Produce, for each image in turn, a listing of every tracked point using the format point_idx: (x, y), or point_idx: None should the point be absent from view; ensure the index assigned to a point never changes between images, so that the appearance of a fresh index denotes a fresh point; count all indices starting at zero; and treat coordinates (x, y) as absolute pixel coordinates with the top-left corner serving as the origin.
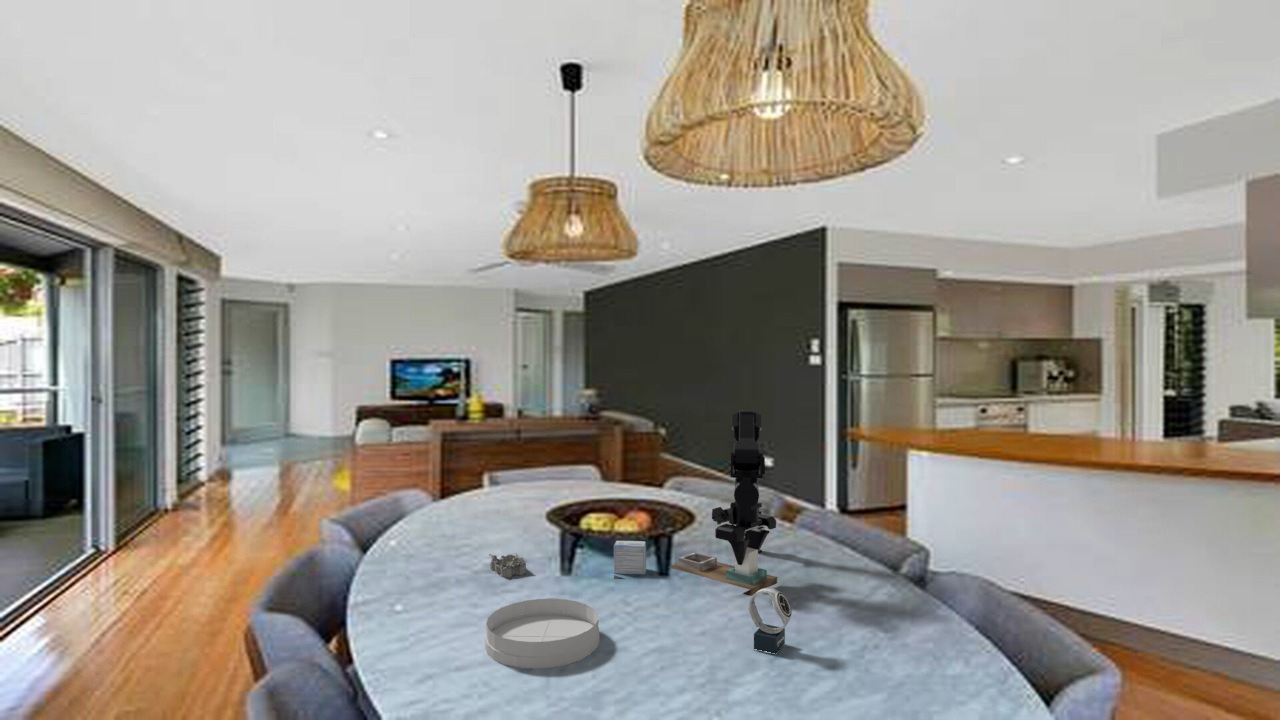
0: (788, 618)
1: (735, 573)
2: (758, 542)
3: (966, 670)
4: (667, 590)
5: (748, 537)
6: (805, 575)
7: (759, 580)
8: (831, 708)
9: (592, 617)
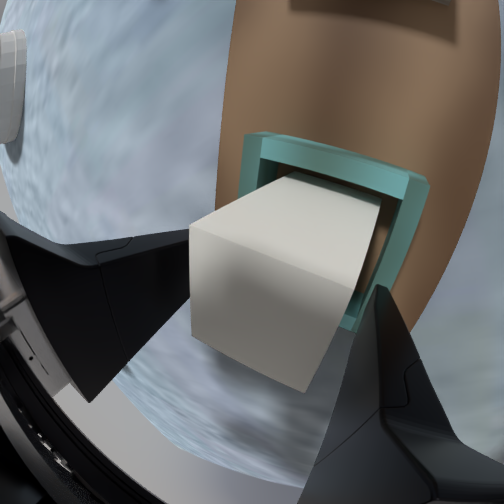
0: None
1: (239, 197)
2: (328, 441)
3: (192, 445)
4: (132, 16)
5: (383, 413)
6: (495, 388)
7: None
8: None
9: (8, 99)
